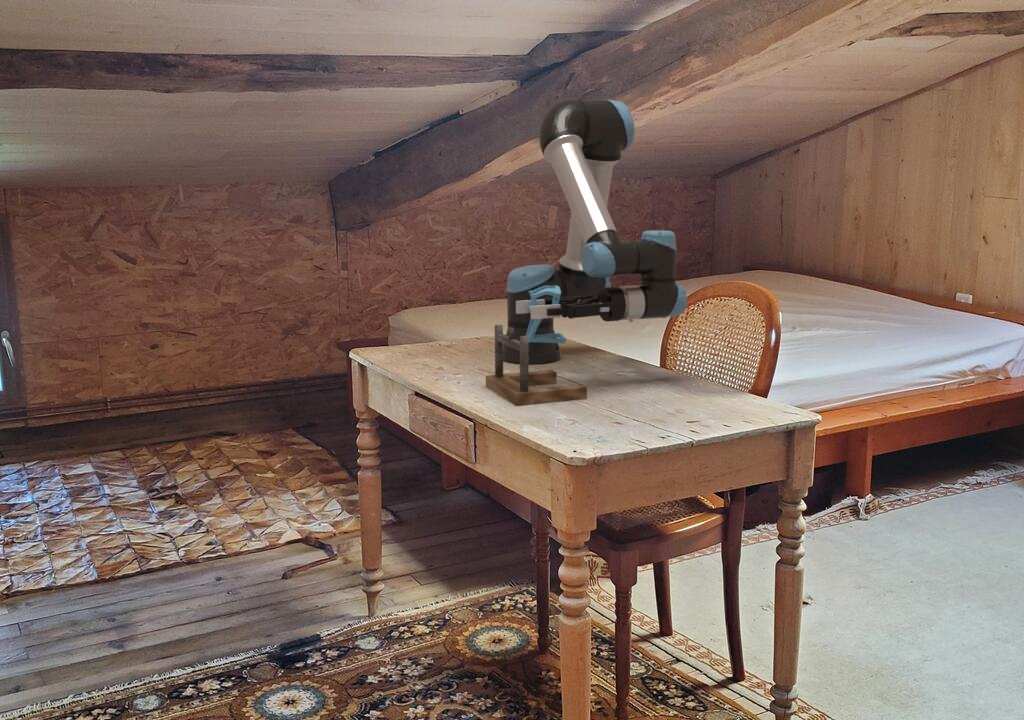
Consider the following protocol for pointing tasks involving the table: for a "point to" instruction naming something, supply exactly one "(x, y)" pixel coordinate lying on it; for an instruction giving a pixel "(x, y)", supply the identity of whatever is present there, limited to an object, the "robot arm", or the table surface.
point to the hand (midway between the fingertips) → (523, 309)
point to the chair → (535, 323)
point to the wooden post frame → (526, 376)
